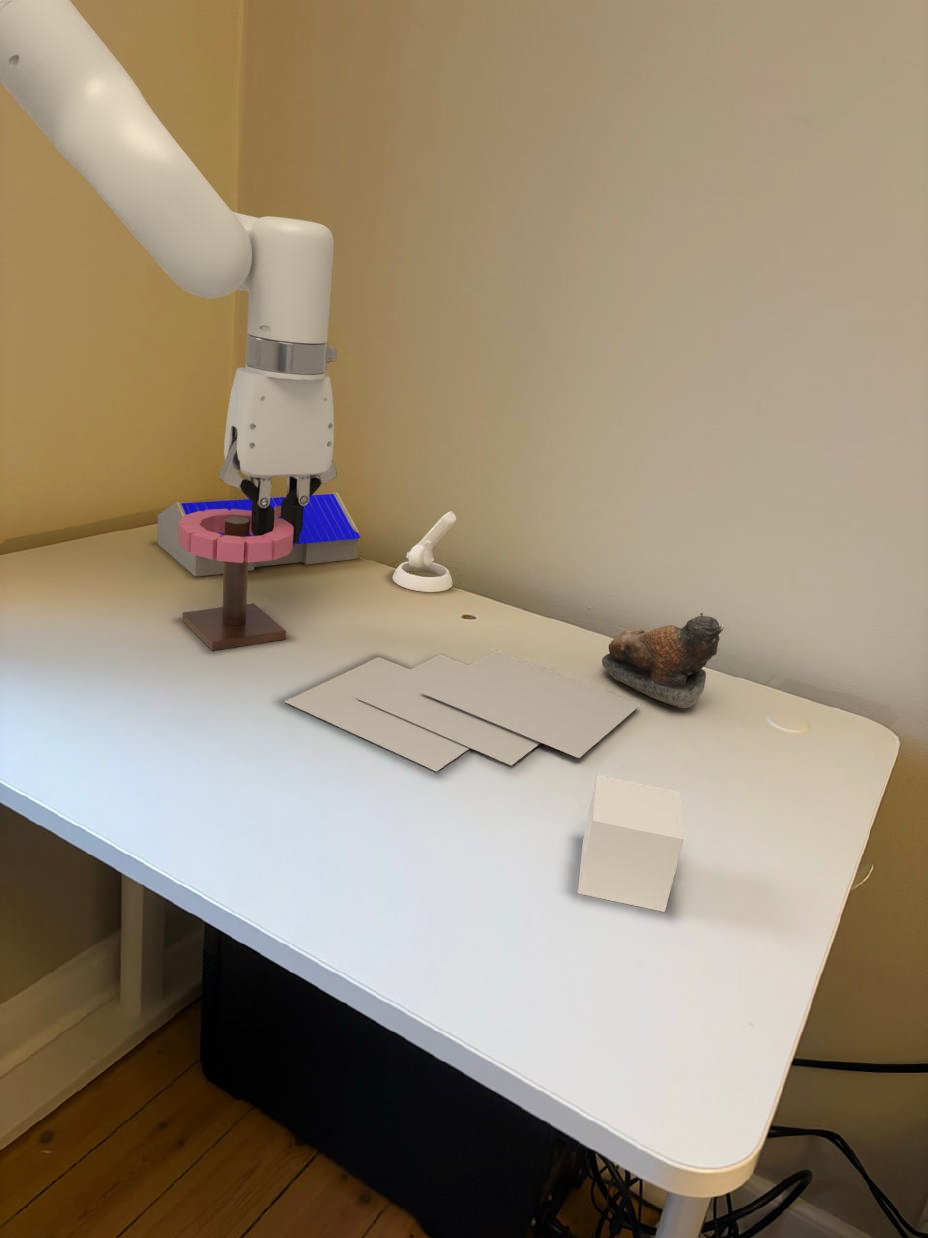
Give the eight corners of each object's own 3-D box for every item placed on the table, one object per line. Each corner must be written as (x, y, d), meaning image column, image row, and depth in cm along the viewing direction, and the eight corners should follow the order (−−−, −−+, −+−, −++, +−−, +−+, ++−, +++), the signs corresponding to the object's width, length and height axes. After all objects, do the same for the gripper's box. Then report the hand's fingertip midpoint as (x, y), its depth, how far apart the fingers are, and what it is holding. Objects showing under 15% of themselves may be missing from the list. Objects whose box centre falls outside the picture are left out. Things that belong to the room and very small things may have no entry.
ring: (204, 567, 85) (205, 546, 84) (163, 531, 93) (163, 512, 92) (311, 557, 92) (312, 537, 91) (263, 523, 100) (264, 506, 99)
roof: (197, 578, 108) (198, 518, 105) (155, 542, 118) (155, 486, 115) (359, 560, 121) (364, 506, 118) (309, 528, 131) (312, 478, 128)
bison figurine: (586, 676, 96) (603, 586, 92) (629, 663, 101) (647, 577, 97) (679, 726, 88) (702, 630, 84) (720, 709, 93) (744, 618, 89)
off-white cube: (582, 843, 69) (596, 774, 66) (662, 860, 68) (679, 791, 66) (577, 894, 63) (592, 820, 61) (665, 912, 62) (683, 839, 60)
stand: (212, 651, 91) (214, 535, 86) (182, 620, 96) (183, 510, 92) (285, 639, 95) (292, 528, 91) (253, 611, 101) (257, 506, 97)
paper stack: (524, 812, 71) (525, 804, 71) (284, 702, 83) (284, 695, 82) (639, 710, 90) (641, 704, 90) (430, 632, 101) (431, 626, 101)
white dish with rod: (475, 567, 108) (430, 526, 107) (419, 622, 115) (378, 584, 115) (496, 539, 114) (454, 500, 113) (442, 593, 121) (402, 557, 121)
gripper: (340, 354, 95) (327, 524, 102) (190, 347, 86) (186, 535, 93) (377, 367, 90) (361, 545, 97) (222, 361, 81) (216, 559, 88)
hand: (276, 539), depth 95 cm, fingers closed on ring, 2 cm apart
